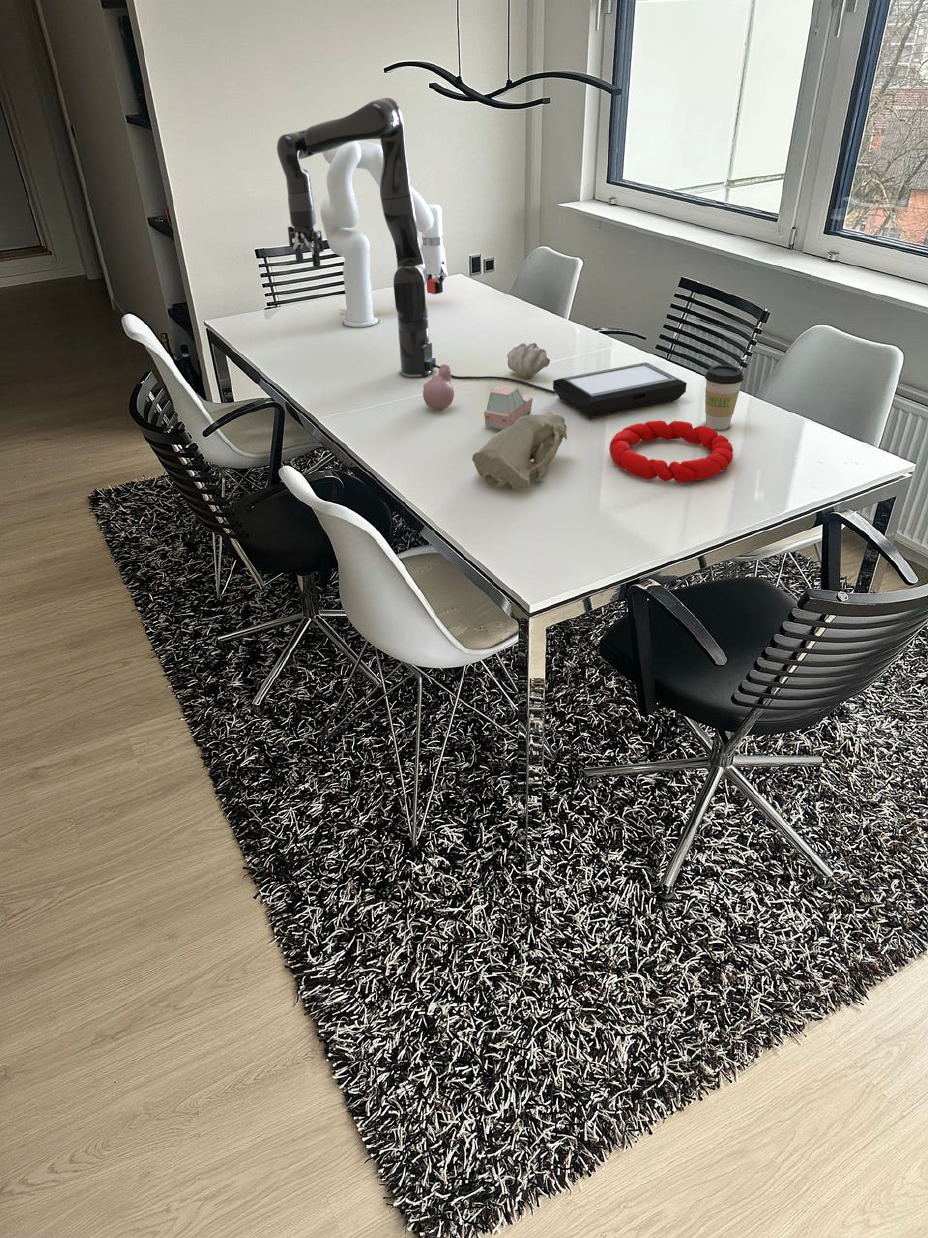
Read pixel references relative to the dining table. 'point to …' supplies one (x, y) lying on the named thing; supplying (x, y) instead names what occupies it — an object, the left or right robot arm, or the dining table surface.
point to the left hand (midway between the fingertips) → (434, 291)
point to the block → (431, 286)
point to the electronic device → (619, 389)
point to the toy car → (506, 407)
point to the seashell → (527, 359)
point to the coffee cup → (721, 395)
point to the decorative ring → (676, 471)
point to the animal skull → (521, 450)
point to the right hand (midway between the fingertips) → (308, 264)
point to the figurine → (439, 389)
